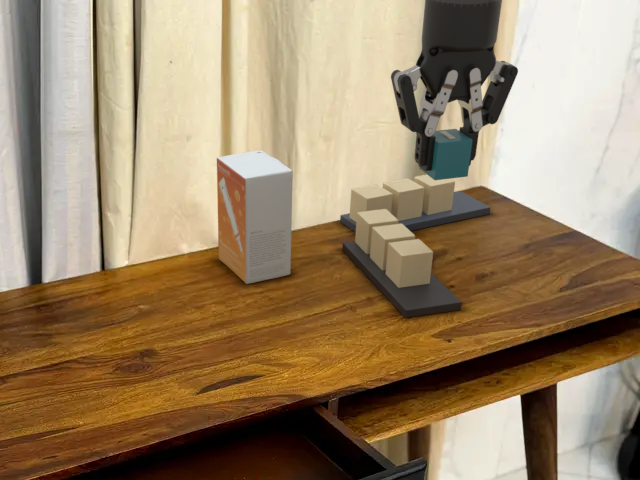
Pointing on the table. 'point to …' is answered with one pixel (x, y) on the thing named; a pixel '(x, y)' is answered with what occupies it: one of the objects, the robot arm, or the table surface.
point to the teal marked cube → (450, 155)
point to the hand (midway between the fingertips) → (444, 165)
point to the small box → (254, 215)
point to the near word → (398, 265)
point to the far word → (415, 202)
